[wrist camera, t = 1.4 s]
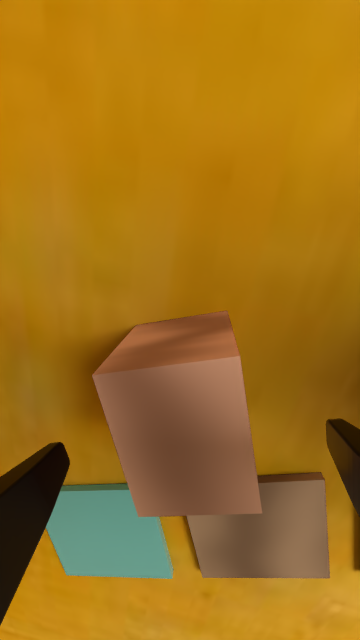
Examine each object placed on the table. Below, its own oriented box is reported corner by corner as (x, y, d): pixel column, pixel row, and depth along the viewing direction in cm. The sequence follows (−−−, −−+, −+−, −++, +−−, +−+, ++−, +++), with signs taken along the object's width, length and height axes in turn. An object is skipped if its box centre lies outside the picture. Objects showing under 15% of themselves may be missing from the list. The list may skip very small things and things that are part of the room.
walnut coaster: (316, 463, 14) (324, 479, 13) (322, 558, 16) (329, 578, 15) (180, 472, 15) (178, 487, 15) (202, 559, 18) (202, 577, 17)
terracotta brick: (227, 310, 12) (239, 355, 7) (242, 416, 13) (262, 513, 9) (136, 324, 12) (91, 375, 8) (162, 424, 14) (138, 517, 9)
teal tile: (151, 474, 16) (148, 489, 15) (174, 561, 18) (172, 578, 17) (40, 478, 17) (30, 492, 16) (73, 558, 19) (66, 575, 18)
